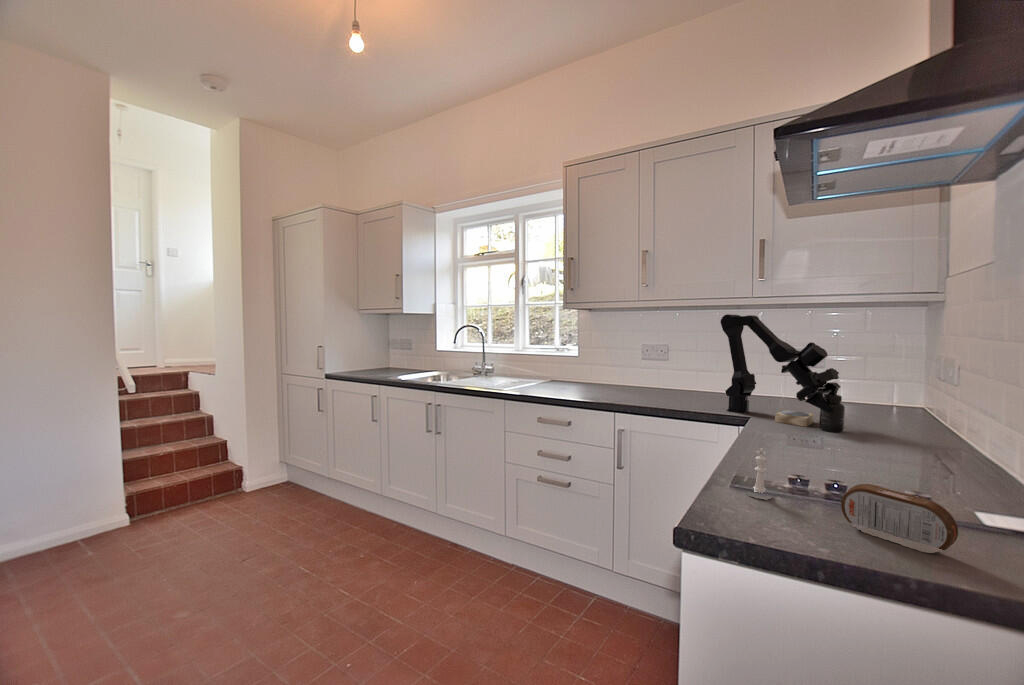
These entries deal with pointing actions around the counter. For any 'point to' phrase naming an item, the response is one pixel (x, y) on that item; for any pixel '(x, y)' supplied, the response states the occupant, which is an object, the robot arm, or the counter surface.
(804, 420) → the birch plinth
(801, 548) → the counter surface
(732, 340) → the robot arm
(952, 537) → the tin
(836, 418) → the supplement bottle
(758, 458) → the chess piece
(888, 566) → the counter surface
